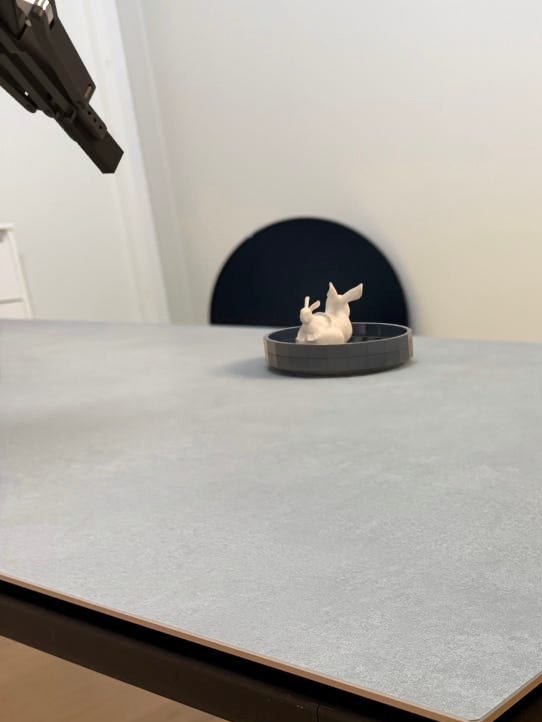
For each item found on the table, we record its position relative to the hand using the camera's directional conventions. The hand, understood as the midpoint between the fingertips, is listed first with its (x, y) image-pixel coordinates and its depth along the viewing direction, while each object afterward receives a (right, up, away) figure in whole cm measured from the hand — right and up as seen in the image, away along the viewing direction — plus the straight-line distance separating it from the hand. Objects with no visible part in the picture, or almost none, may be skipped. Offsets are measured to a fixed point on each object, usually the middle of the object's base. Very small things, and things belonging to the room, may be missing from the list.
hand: (113, 162), depth 95 cm
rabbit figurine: (+18, -11, +30) cm, 36 cm away
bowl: (+18, -11, +31) cm, 38 cm away
